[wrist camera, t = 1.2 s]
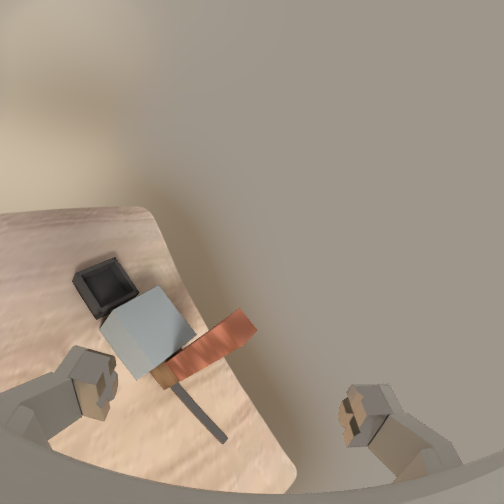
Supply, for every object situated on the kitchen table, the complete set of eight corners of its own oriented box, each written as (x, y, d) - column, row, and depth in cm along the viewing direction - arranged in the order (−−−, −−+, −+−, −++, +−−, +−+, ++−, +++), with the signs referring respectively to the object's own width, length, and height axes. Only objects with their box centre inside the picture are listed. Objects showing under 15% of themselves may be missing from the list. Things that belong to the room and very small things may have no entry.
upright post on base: (121, 335, 42) (179, 270, 32) (142, 322, 45) (204, 257, 36) (164, 390, 41) (240, 348, 31) (183, 374, 45) (260, 327, 35)
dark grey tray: (72, 281, 41) (75, 273, 40) (110, 265, 48) (115, 257, 47) (96, 319, 41) (100, 313, 40) (133, 299, 48) (139, 292, 46)
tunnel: (99, 329, 40) (112, 309, 37) (141, 305, 48) (159, 285, 44) (136, 380, 40) (155, 367, 36) (175, 350, 47) (196, 334, 44)
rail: (114, 313, 44) (114, 312, 43) (120, 310, 45) (121, 309, 45) (222, 444, 41) (223, 443, 41) (226, 438, 43) (228, 438, 42)
